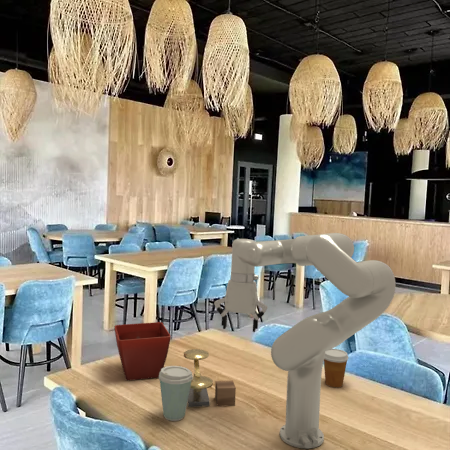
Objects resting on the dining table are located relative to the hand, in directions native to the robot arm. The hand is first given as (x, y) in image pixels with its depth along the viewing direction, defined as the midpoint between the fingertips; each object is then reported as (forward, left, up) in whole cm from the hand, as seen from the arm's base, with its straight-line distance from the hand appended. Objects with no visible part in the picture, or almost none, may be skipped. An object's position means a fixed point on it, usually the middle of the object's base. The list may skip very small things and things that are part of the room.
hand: (239, 329), depth 144 cm
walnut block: (+4, +3, -26) cm, 27 cm away
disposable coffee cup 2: (+15, -40, -26) cm, 50 cm away
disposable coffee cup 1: (-5, +20, -26) cm, 34 cm away
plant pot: (+30, +32, -26) cm, 51 cm away
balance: (+10, +12, -26) cm, 30 cm away
